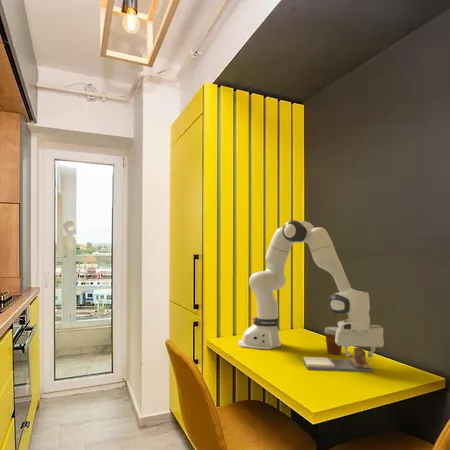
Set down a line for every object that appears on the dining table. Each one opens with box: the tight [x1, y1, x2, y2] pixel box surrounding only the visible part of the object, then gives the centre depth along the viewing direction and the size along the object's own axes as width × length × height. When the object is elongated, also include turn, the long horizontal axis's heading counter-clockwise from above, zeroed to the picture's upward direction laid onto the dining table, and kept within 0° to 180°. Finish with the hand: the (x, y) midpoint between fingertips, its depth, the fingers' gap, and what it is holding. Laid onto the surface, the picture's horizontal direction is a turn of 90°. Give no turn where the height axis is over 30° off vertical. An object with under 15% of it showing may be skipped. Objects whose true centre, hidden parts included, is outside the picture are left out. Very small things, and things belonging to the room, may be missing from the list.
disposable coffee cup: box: [324, 326, 343, 356], centre depth 175 cm, size 10×10×12 cm
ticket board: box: [302, 356, 374, 373], centre depth 156 cm, size 27×12×2 cm, turn 86°
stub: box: [348, 347, 372, 368], centre depth 155 cm, size 6×10×6 cm, turn 176°
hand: (359, 356), depth 155 cm, fingers open, 8 cm apart
